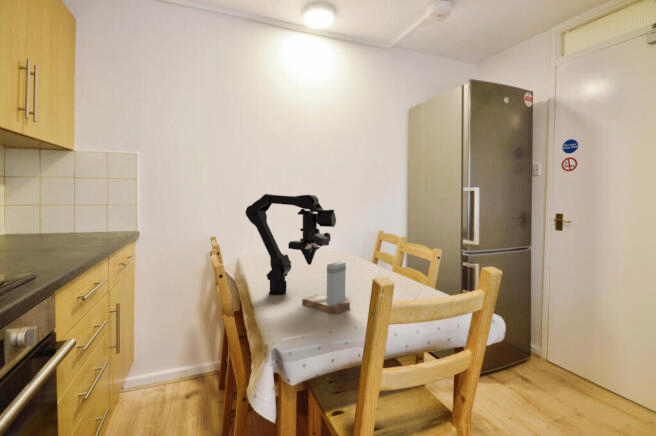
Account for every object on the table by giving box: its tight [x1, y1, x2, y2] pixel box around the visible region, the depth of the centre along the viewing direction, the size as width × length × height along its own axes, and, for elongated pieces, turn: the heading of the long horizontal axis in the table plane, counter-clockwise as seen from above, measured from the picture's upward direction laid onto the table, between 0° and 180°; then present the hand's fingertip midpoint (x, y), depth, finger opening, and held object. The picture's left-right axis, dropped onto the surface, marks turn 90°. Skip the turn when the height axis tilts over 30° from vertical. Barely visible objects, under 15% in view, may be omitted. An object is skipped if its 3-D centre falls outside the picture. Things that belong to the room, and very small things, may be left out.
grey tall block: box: [326, 261, 347, 306], centre depth 109 cm, size 3×7×14 cm, turn 142°
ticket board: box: [301, 294, 351, 315], centre depth 112 cm, size 16×8×2 cm, turn 52°
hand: (309, 264), depth 123 cm, fingers closed
